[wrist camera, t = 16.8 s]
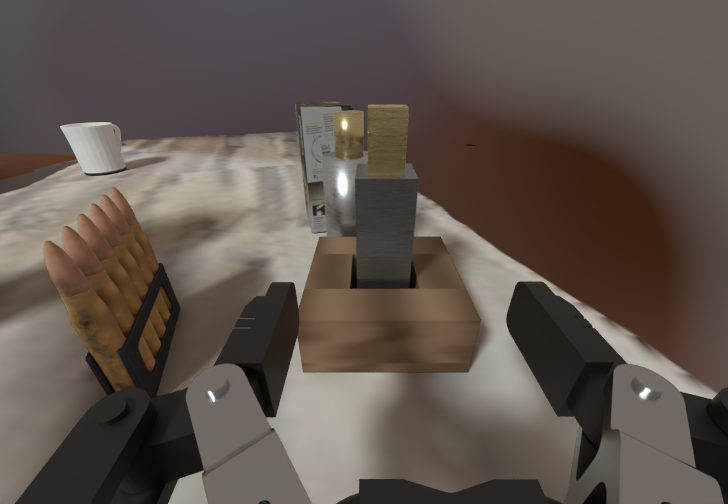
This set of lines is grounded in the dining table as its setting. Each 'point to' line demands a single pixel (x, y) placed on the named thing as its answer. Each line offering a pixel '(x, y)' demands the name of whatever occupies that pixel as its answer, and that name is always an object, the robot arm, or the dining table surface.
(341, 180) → the silver bottle
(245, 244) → the dining table surface
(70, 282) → the ammunition clip
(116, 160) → the mug
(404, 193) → the square bit
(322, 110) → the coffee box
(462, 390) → the dining table surface
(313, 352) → the socket block
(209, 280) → the dining table surface
